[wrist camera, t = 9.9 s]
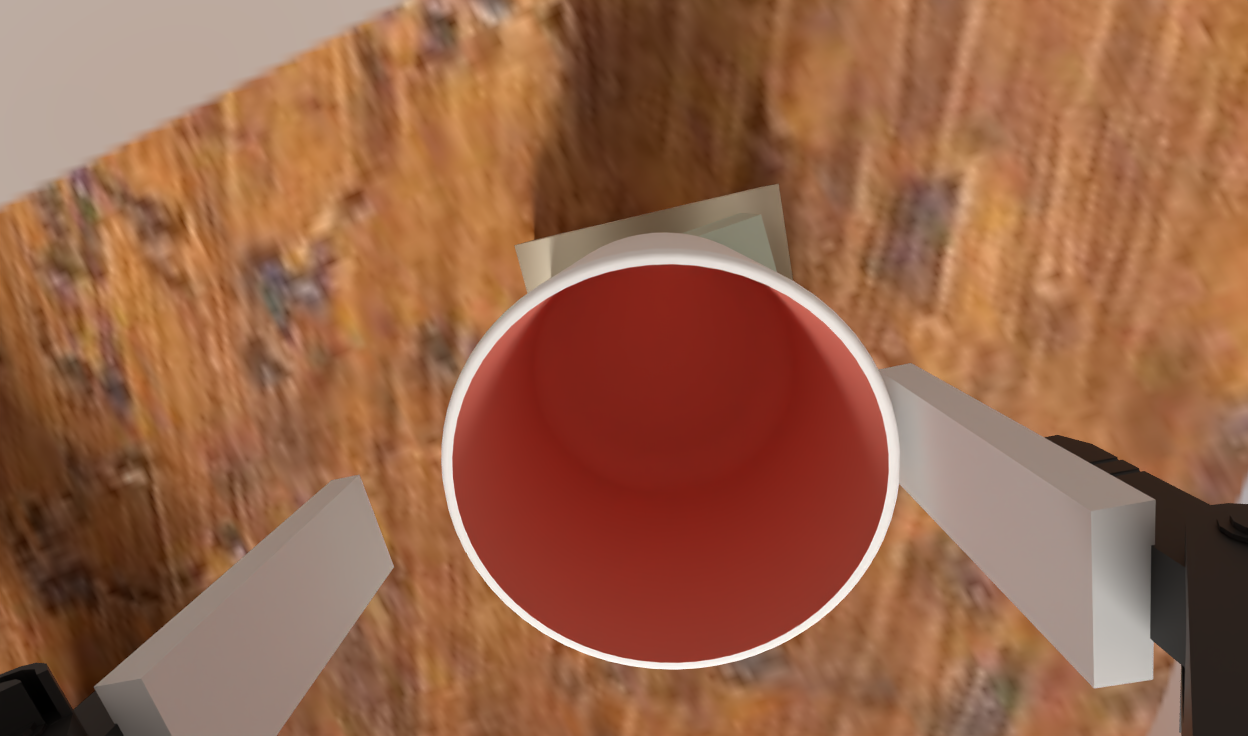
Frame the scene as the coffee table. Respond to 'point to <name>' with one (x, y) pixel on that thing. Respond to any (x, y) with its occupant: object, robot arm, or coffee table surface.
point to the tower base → (568, 248)
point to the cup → (670, 455)
